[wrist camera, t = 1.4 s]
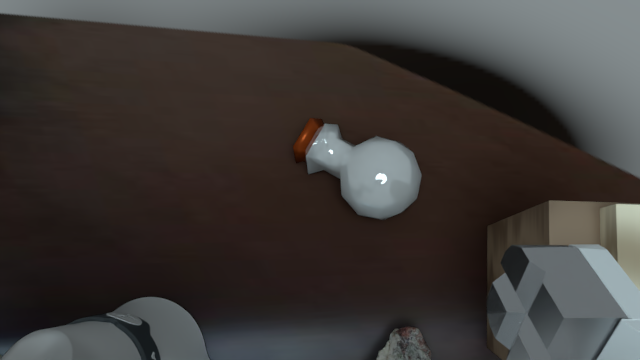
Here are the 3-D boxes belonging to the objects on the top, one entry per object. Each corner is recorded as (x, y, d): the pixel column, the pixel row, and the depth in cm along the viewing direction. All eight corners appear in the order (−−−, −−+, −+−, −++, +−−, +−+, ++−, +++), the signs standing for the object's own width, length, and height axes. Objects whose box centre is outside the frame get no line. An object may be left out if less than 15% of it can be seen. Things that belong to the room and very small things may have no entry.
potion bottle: (414, 216, 70) (313, 161, 74) (446, 149, 65) (335, 94, 69) (386, 249, 62) (276, 185, 67) (419, 176, 57) (297, 112, 62)
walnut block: (577, 353, 64) (704, 410, 38) (486, 347, 65) (551, 398, 40) (575, 229, 66) (694, 205, 40) (487, 225, 67) (548, 200, 42)
